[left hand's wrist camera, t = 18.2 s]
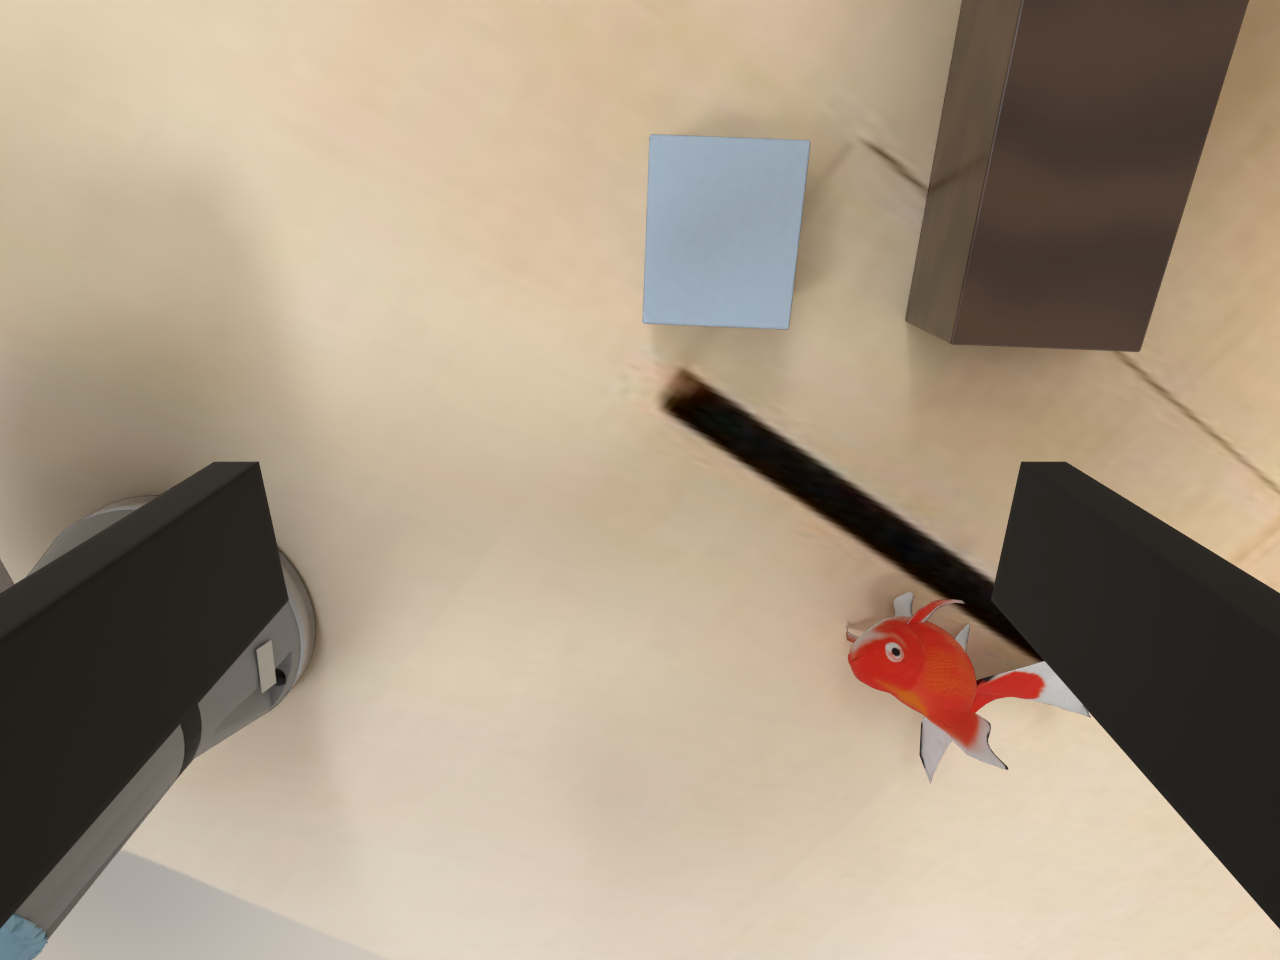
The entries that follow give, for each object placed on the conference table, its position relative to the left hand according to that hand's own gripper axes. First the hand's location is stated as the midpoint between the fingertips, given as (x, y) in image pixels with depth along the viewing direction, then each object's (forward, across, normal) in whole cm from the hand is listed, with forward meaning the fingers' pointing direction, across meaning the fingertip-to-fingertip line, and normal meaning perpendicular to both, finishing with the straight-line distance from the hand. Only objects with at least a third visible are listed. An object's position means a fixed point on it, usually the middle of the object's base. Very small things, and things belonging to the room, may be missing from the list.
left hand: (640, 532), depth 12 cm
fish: (+24, -18, +19) cm, 36 cm away
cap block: (+25, -3, -4) cm, 25 cm away
